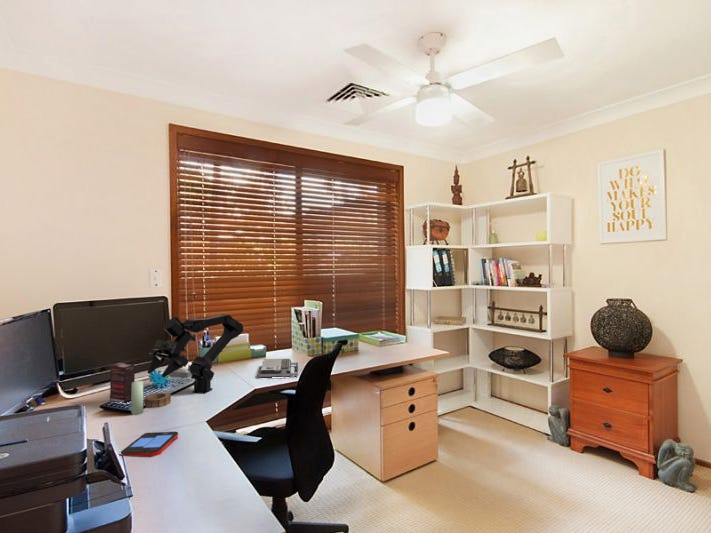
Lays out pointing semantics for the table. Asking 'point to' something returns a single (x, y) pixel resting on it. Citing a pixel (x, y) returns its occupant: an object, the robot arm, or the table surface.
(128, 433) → the table surface
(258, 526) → the table surface
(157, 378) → the blue virus toy
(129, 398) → the supplement box
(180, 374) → the mouse tray
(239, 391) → the table surface
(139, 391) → the dowel
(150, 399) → the brown segmented ring
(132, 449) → the red dual-screen device
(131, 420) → the table surface
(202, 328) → the robot arm
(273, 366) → the radio
